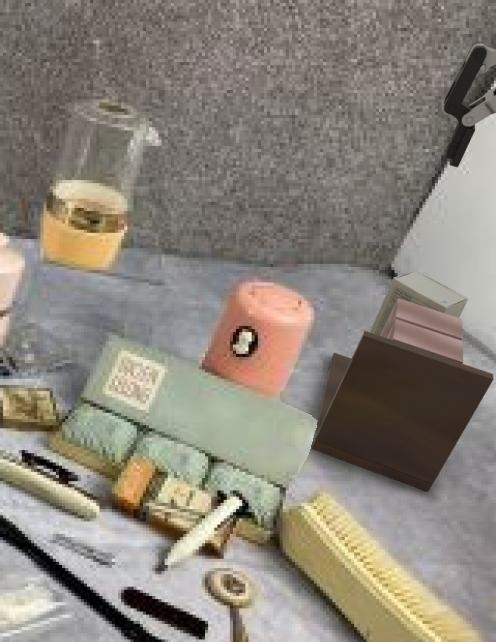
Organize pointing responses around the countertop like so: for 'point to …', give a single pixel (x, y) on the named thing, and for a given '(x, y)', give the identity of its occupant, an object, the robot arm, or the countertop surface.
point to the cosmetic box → (419, 297)
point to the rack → (401, 397)
